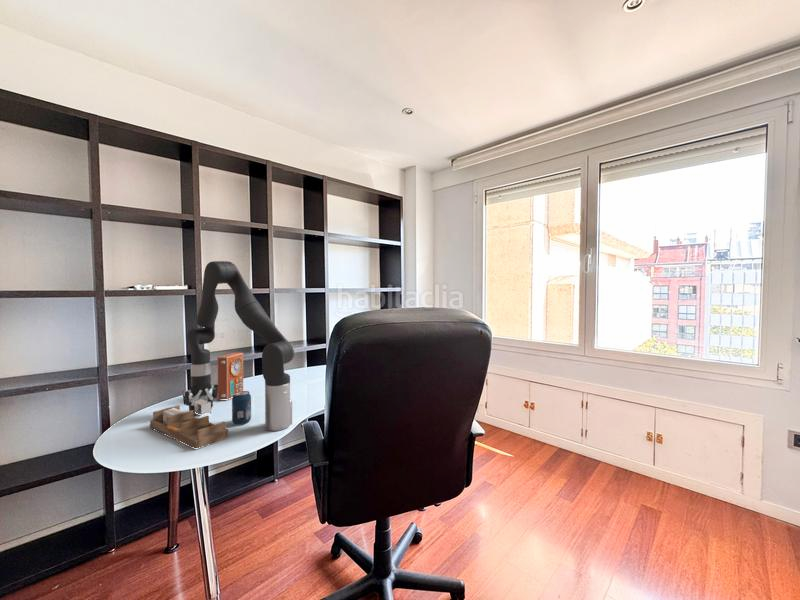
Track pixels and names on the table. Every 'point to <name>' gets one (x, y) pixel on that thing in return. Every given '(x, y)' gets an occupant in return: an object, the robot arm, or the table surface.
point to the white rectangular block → (202, 406)
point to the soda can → (241, 408)
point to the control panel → (230, 375)
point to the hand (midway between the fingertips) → (201, 411)
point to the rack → (188, 427)
